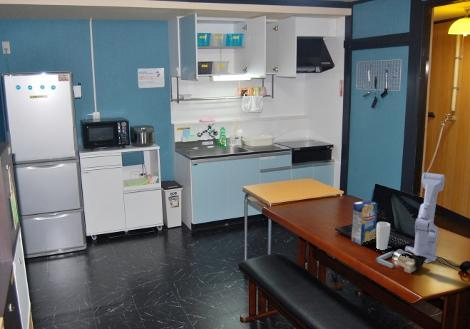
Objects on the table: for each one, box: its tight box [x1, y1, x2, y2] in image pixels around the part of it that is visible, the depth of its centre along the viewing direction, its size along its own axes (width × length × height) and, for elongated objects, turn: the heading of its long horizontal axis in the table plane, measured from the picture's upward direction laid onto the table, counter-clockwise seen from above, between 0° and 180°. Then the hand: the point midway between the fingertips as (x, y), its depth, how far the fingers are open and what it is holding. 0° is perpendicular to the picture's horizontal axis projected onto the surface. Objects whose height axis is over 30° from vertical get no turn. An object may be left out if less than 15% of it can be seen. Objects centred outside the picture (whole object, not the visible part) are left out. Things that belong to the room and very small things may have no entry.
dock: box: [375, 250, 410, 269], centre depth 224 cm, size 14×9×2 cm, turn 127°
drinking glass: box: [375, 221, 391, 250], centre depth 234 cm, size 7×7×15 cm
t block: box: [396, 255, 416, 274], centre depth 217 cm, size 10×9×4 cm
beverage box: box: [351, 199, 378, 246], centre depth 246 cm, size 7×11×22 cm, turn 120°
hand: (418, 269), depth 213 cm, fingers closed
